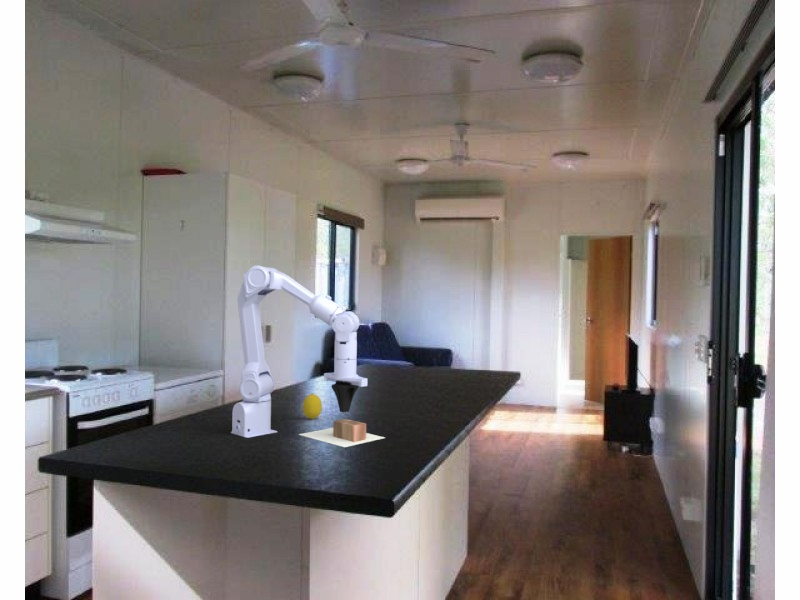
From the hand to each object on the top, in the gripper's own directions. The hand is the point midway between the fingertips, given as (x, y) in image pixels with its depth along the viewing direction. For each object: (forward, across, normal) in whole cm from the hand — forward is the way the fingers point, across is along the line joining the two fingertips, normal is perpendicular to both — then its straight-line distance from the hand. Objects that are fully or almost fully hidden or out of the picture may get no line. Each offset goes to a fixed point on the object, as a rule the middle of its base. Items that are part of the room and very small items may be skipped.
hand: (344, 411), depth 148 cm
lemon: (+7, +23, -8) cm, 25 cm away
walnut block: (+4, +2, 0) cm, 5 cm away
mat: (+7, +1, 0) cm, 7 cm away
